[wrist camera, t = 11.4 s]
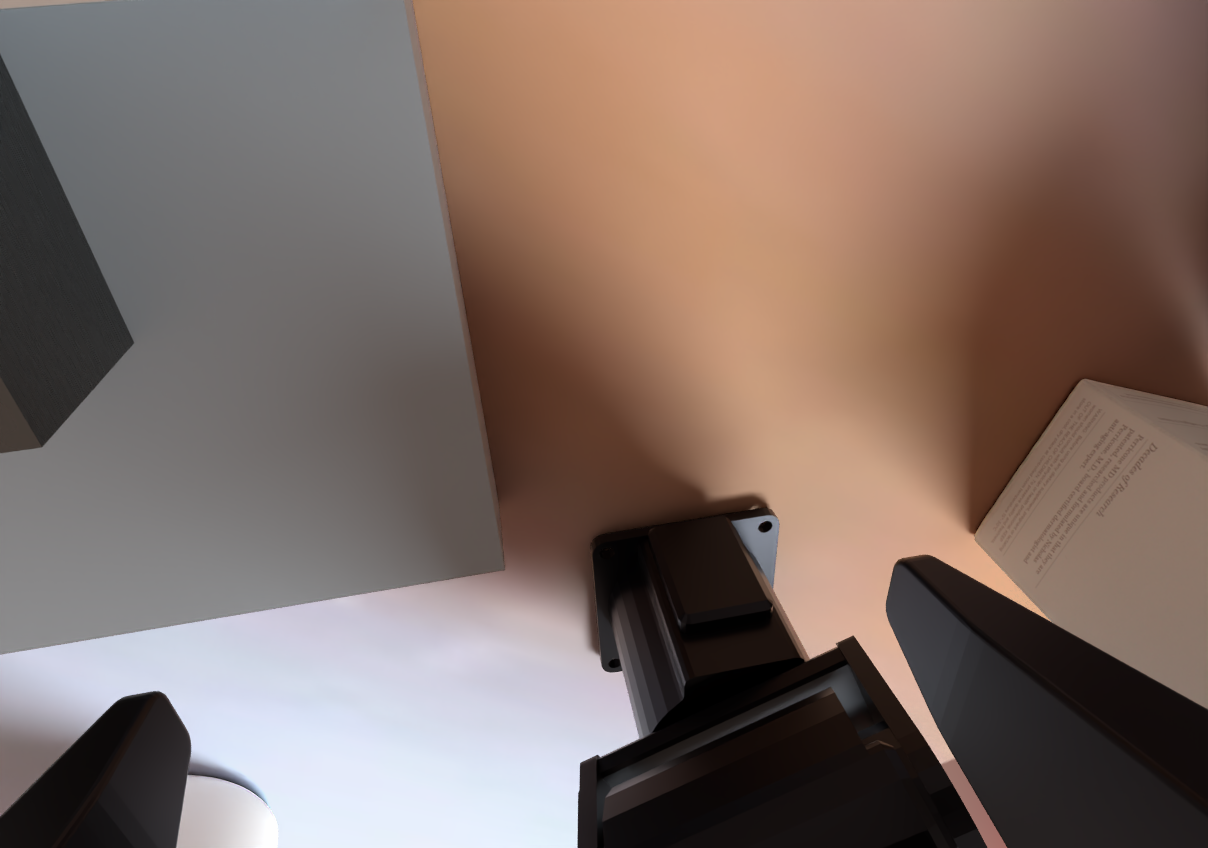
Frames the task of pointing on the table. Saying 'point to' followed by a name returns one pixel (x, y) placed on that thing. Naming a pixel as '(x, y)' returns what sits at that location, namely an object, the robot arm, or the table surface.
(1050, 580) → the supplement box
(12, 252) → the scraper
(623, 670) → the robot arm
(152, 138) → the board
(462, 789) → the table surface
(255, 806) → the water bottle
